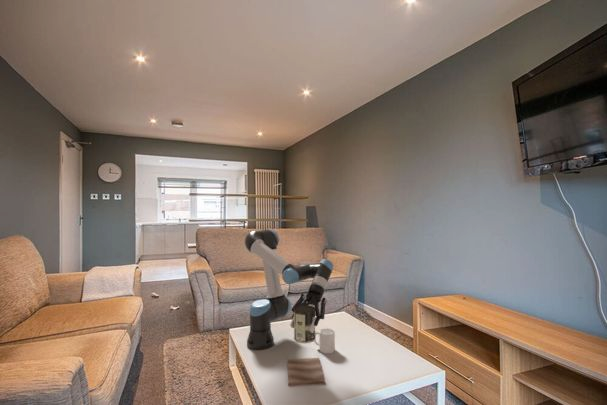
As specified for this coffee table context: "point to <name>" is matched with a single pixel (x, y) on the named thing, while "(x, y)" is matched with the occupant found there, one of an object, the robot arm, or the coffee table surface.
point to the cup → (326, 340)
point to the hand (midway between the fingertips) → (301, 329)
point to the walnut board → (305, 371)
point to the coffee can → (303, 323)
